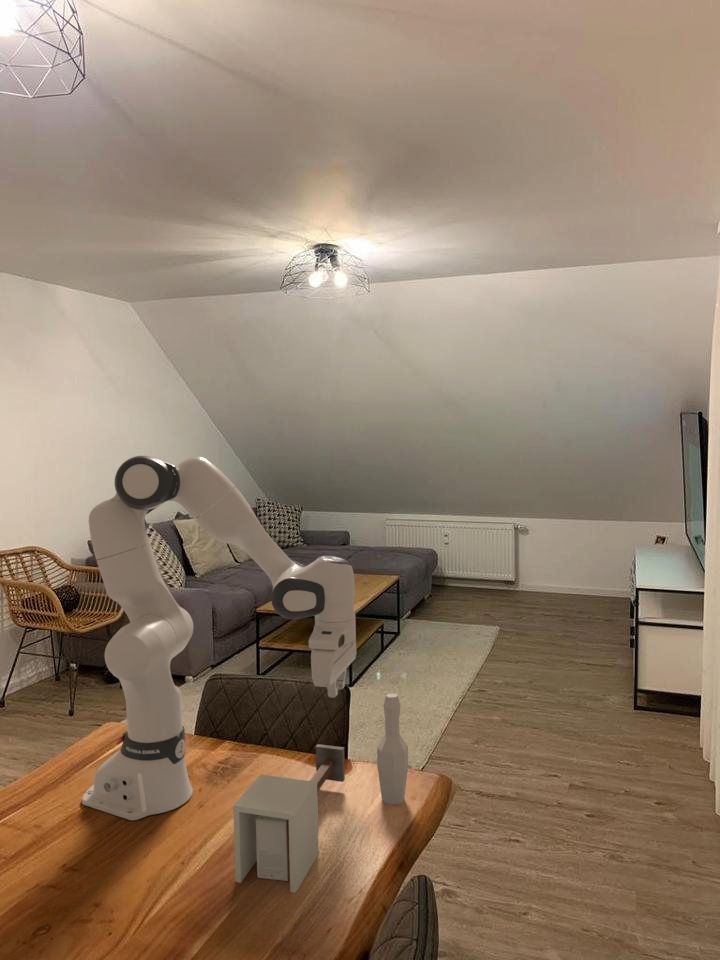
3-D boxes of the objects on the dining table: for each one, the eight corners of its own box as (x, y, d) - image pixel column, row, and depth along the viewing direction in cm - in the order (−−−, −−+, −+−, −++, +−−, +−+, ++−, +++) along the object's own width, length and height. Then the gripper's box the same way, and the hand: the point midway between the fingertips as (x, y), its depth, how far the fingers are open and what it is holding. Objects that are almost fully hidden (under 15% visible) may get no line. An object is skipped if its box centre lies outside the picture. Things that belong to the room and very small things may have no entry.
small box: (287, 882, 118) (286, 822, 118) (256, 878, 119) (254, 819, 119) (301, 854, 126) (299, 798, 125) (271, 851, 127) (270, 795, 127)
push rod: (274, 837, 128) (273, 800, 128) (318, 775, 151) (317, 744, 150) (304, 842, 126) (304, 804, 126) (344, 779, 149) (344, 747, 149)
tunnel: (235, 881, 119) (233, 805, 118) (262, 845, 129) (260, 774, 128) (295, 893, 115) (294, 814, 115) (318, 854, 126) (317, 782, 125)
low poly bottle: (377, 791, 148) (376, 689, 146) (407, 791, 148) (406, 689, 146) (377, 807, 142) (376, 701, 140) (409, 807, 141) (408, 701, 140)
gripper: (336, 617, 163) (337, 675, 164) (305, 642, 143) (306, 708, 144) (362, 618, 161) (363, 677, 162) (334, 645, 142) (335, 711, 143)
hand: (336, 692), depth 153 cm, fingers open, 3 cm apart
